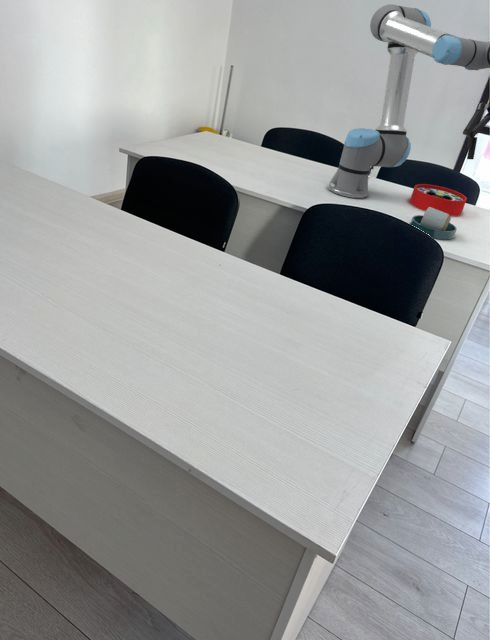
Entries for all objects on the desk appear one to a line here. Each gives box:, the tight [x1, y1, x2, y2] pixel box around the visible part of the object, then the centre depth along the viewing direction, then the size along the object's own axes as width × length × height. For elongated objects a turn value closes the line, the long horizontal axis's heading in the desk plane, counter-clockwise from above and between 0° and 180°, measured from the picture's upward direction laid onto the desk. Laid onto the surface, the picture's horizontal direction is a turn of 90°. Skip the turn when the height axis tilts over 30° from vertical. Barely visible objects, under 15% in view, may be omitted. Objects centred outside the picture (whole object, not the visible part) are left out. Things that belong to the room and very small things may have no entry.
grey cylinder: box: [420, 207, 452, 231], centre depth 198 cm, size 11×8×8 cm
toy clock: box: [409, 183, 468, 217], centre depth 226 cm, size 20×6×20 cm
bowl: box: [409, 214, 458, 241], centre depth 199 cm, size 15×15×3 cm
